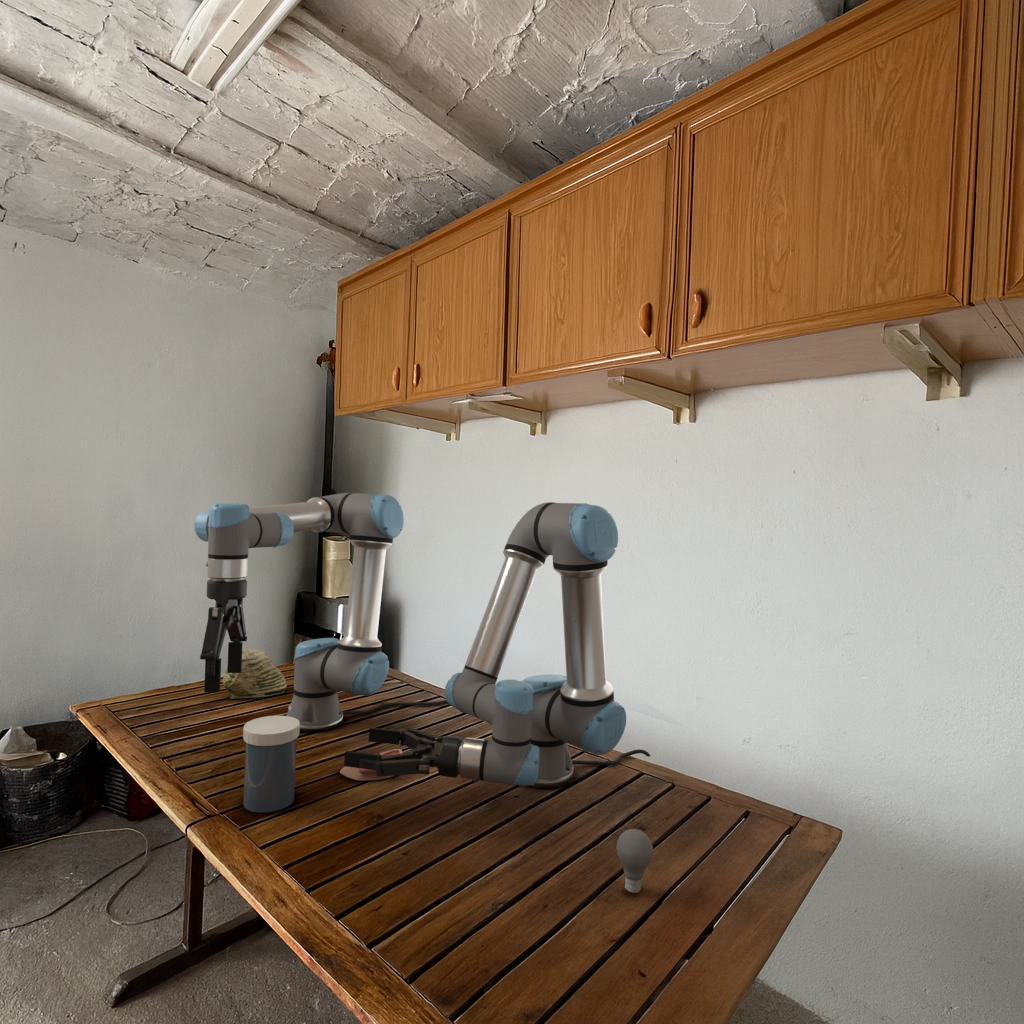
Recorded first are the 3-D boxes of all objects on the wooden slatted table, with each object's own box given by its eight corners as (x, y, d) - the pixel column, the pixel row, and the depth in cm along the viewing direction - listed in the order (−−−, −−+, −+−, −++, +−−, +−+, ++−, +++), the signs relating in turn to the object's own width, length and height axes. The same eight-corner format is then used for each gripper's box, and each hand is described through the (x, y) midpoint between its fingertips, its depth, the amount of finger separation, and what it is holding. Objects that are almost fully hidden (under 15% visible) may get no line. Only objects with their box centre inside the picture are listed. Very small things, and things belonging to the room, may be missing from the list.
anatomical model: (334, 759, 143) (356, 741, 154) (333, 777, 143) (355, 757, 154) (389, 767, 140) (408, 748, 151) (388, 785, 140) (407, 764, 151)
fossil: (218, 695, 195) (220, 647, 195) (278, 685, 208) (279, 640, 207) (228, 703, 189) (230, 653, 188) (289, 692, 201) (290, 645, 201)
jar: (238, 796, 132) (241, 723, 132) (287, 786, 138) (289, 715, 138) (249, 817, 124) (251, 738, 124) (300, 805, 130) (302, 730, 129)
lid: (237, 731, 132) (238, 720, 132) (291, 723, 138) (291, 712, 138) (249, 750, 123) (249, 738, 123) (306, 740, 129) (306, 728, 129)
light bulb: (610, 879, 108) (613, 822, 108) (644, 879, 109) (647, 822, 109) (619, 902, 102) (622, 840, 102) (655, 901, 103) (658, 840, 103)
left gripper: (228, 570, 142) (225, 665, 142) (183, 586, 117) (180, 701, 117) (263, 571, 142) (259, 665, 143) (226, 588, 118) (222, 701, 118)
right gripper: (445, 804, 113) (331, 790, 115) (471, 753, 138) (377, 742, 140) (448, 762, 113) (334, 749, 115) (473, 718, 138) (379, 708, 140)
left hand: (223, 681), depth 130 cm, fingers open, 13 cm apart
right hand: (357, 745), depth 128 cm, fingers open, 13 cm apart
